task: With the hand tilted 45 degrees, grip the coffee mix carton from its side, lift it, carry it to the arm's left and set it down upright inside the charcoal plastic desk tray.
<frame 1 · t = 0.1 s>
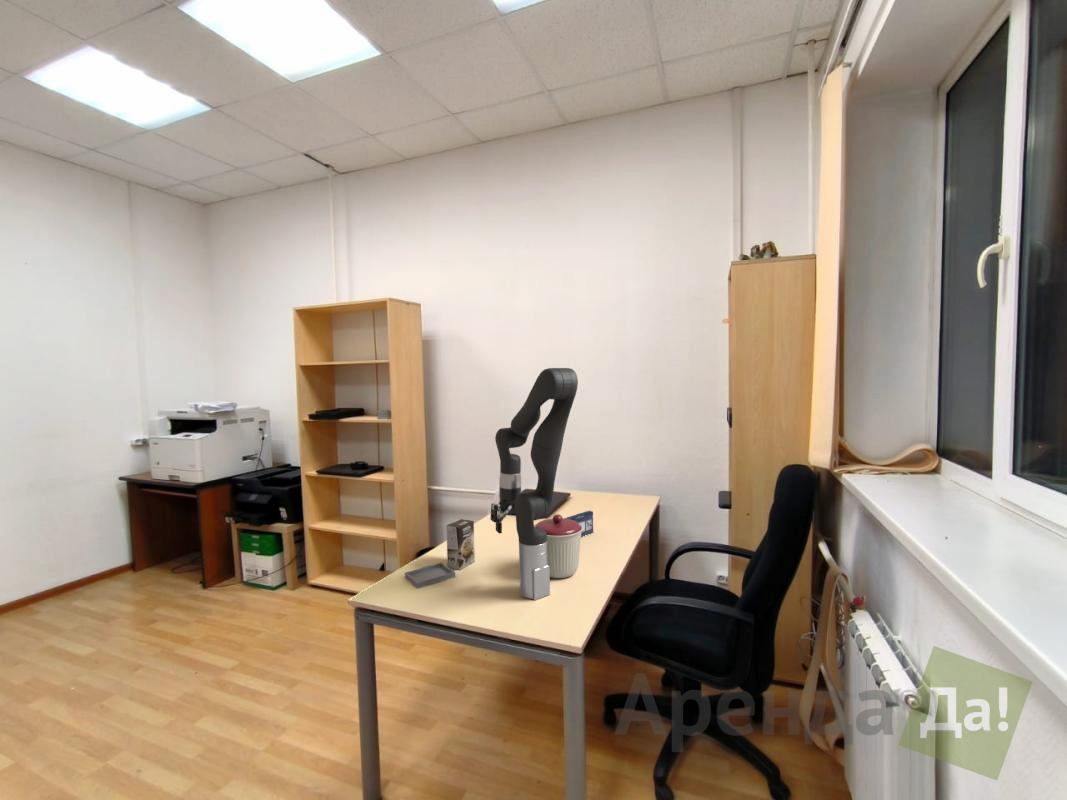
hand: (509, 530, 162), 17 cm above the table, tool pointing down, fingers open, 8 cm apart
canister: (558, 573, 167), on the table
vhs cassette tape: (577, 538, 203), on the table
tray: (430, 577, 166), on the table
coffee box: (461, 565, 177), on the table
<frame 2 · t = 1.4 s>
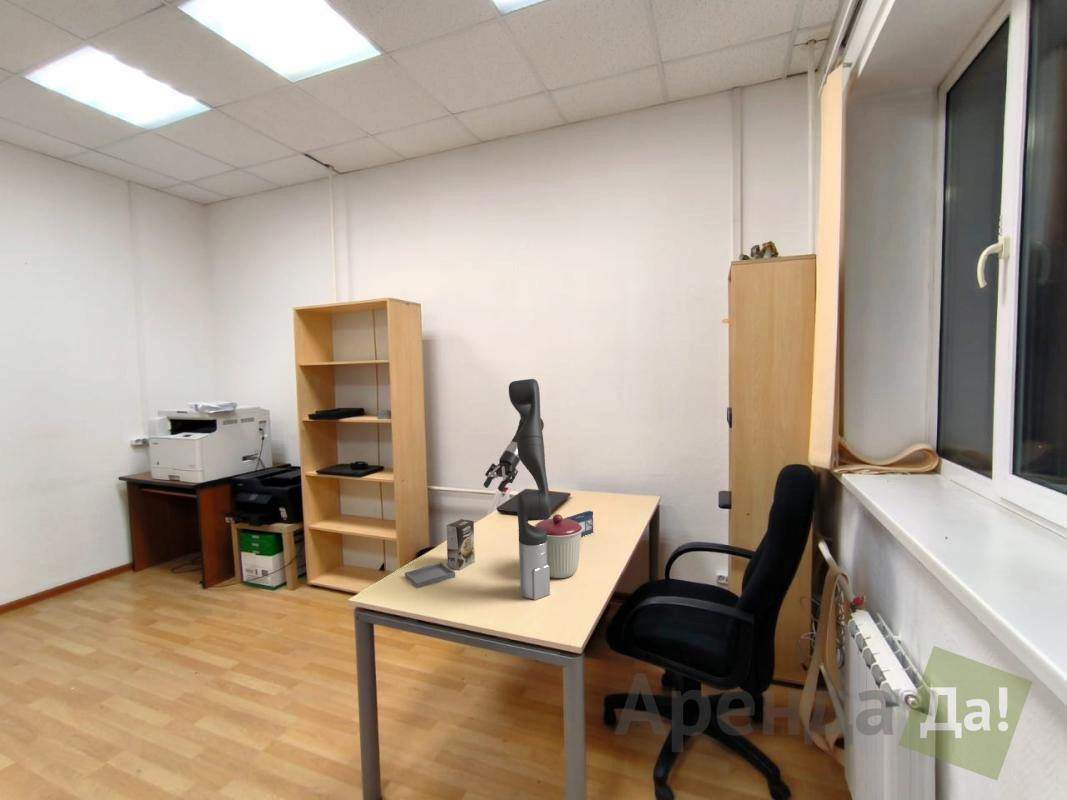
hand: (492, 488, 184), 27 cm above the table, tool tilted 45°, fingers open, 8 cm apart
nothing on the table moved.
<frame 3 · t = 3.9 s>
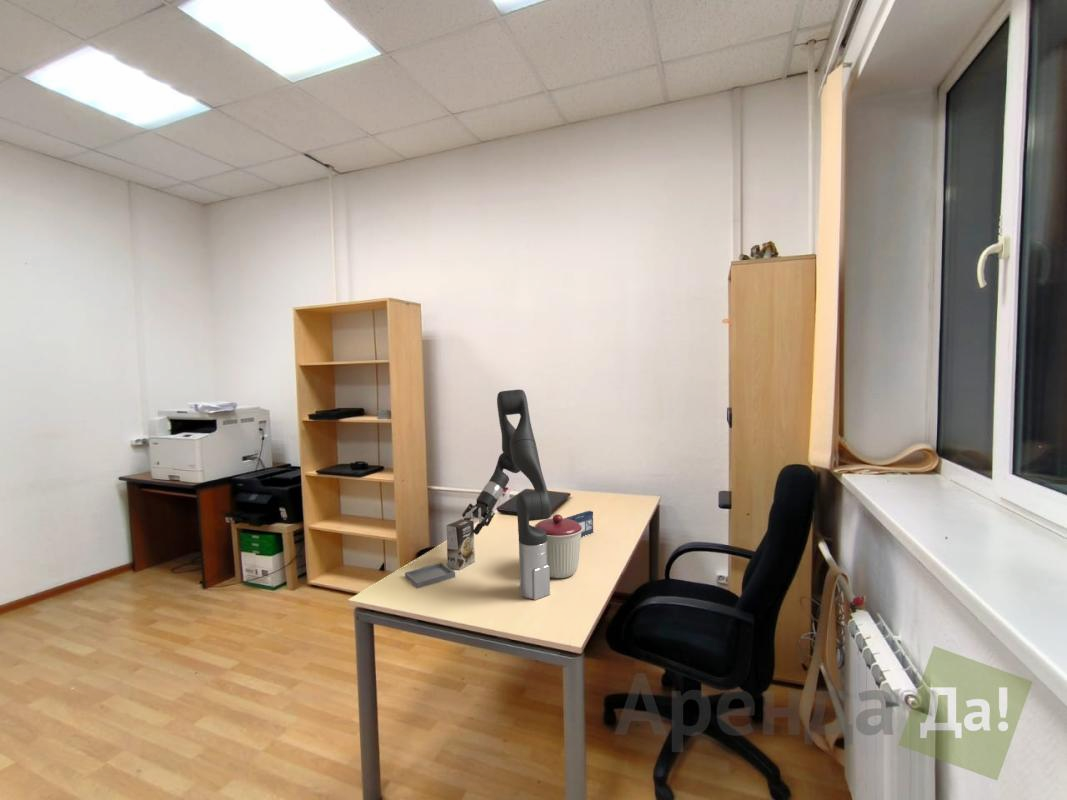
hand: (468, 531, 179), 12 cm above the table, tool tilted 45°, fingers open, 8 cm apart
coffee box: (461, 565, 177), on the table, touching gripper
everything else where it was.
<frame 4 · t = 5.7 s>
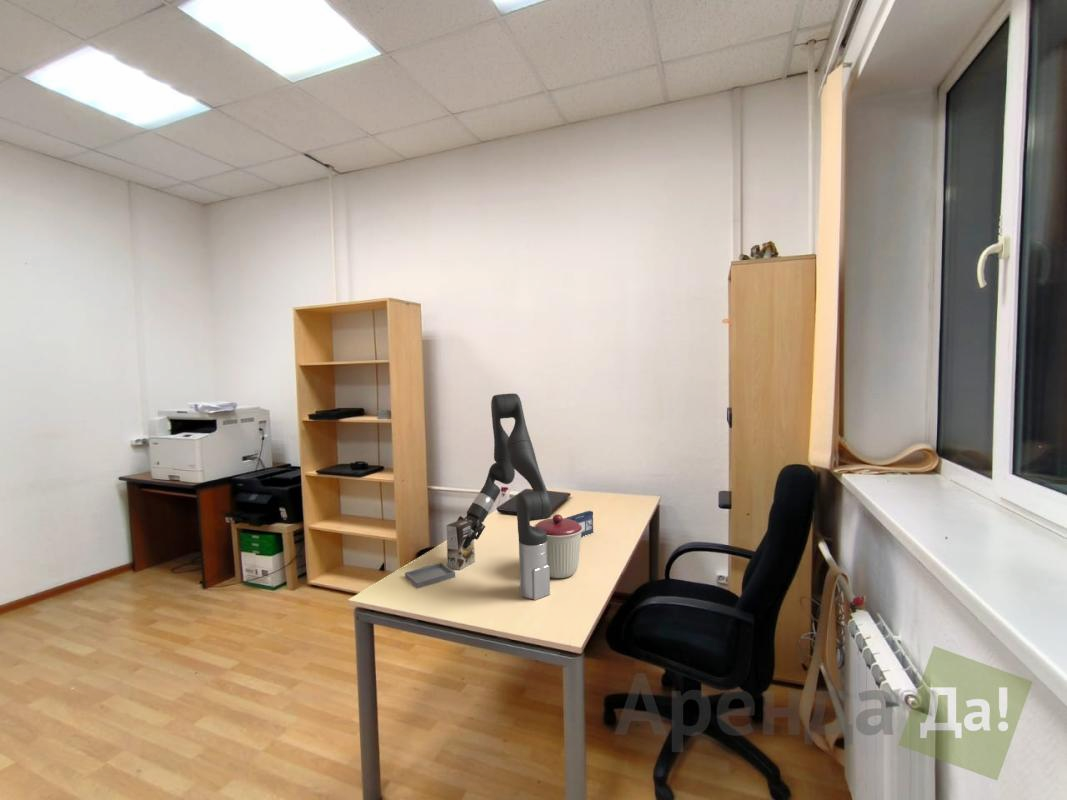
hand: (457, 544, 175), 8 cm above the table, tool tilted 45°, fingers closed on coffee box, 7 cm apart
coffee box: (461, 565, 177), on the table, touching gripper
everything else where it was.
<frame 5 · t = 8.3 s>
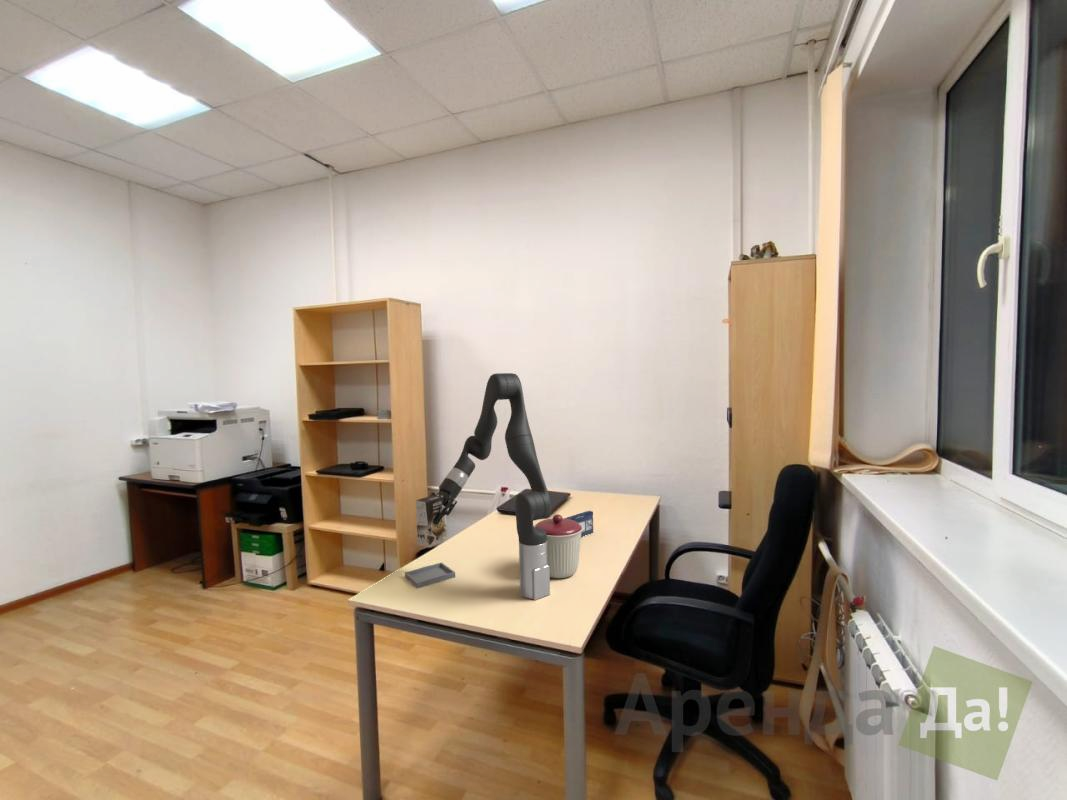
hand: (428, 521, 165), 20 cm above the table, tool tilted 45°, fingers closed on coffee box, 7 cm apart
coffee box: (432, 542, 167), point 12 cm above the table, touching gripper
everything else where it was.
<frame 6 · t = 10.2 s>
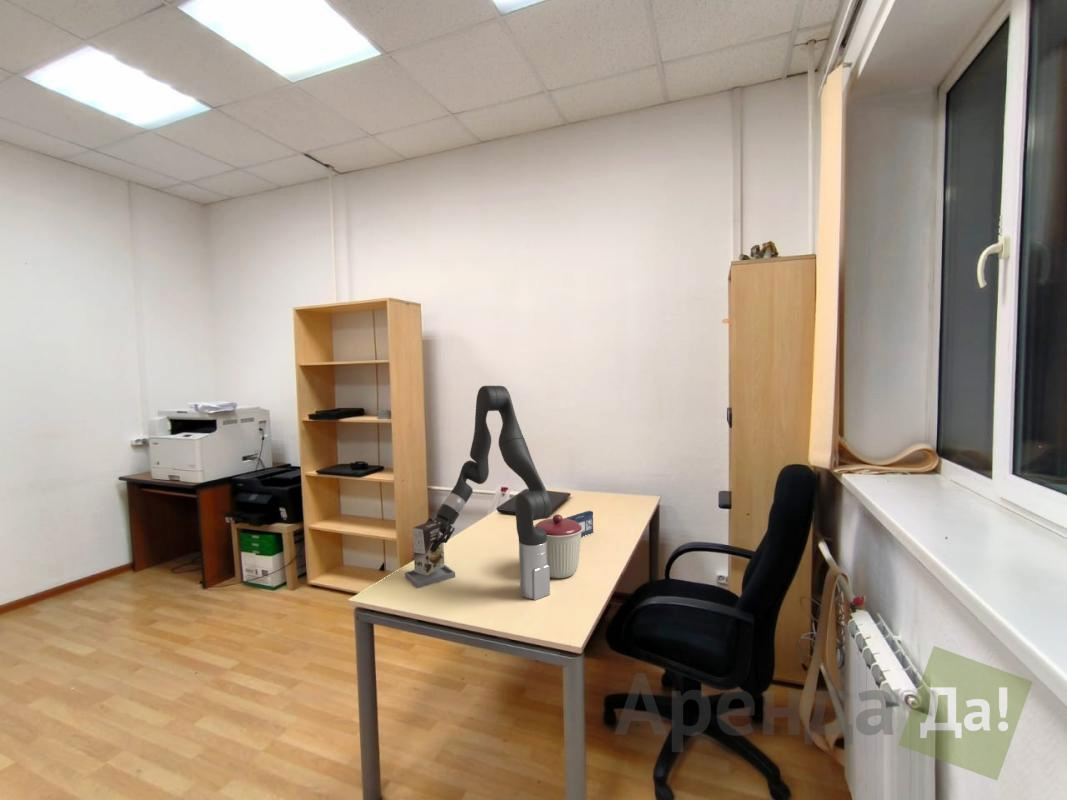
hand: (425, 548, 165), 11 cm above the table, tool tilted 45°, fingers closed on coffee box, 7 cm apart
coffee box: (429, 569, 166), point 3 cm above the table, touching gripper
everything else where it was.
when the fingers open (10 cm above the table, at t = 11.1 s): coffee box drops 1 cm, resting on tray.
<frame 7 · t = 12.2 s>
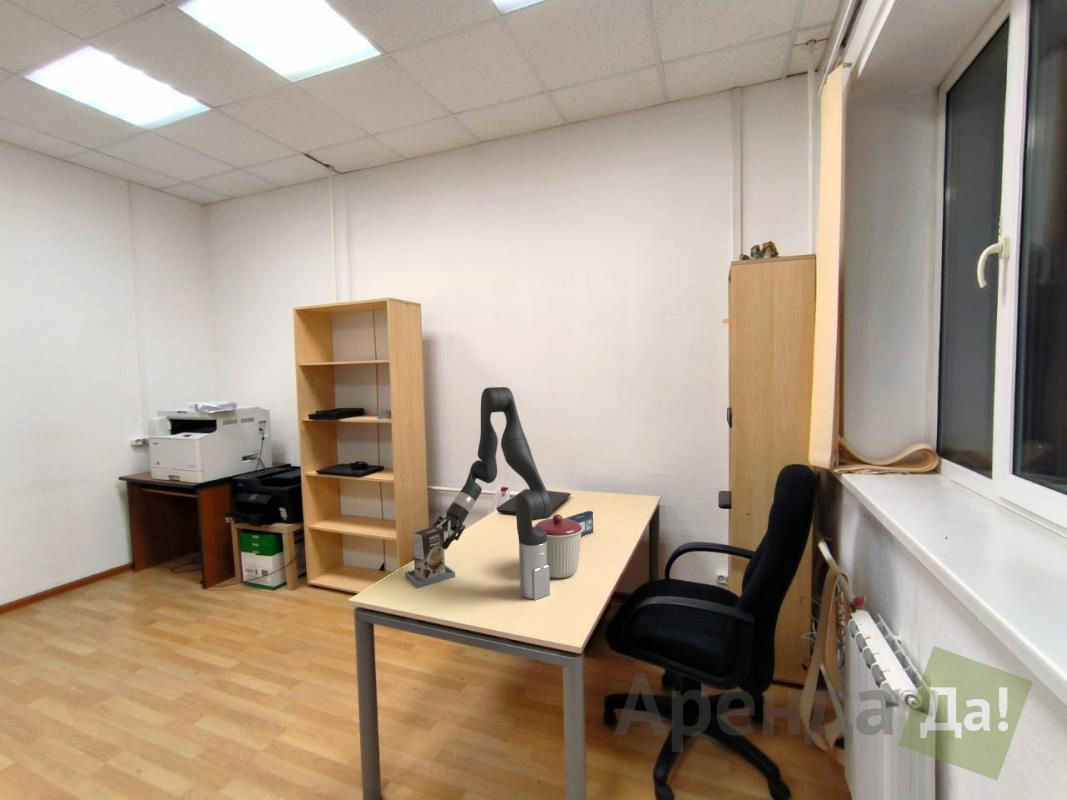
hand: (436, 545, 168), 11 cm above the table, tool tilted 45°, fingers open, 8 cm apart
coffee box: (430, 575, 167), resting on tray
everything else where it was.
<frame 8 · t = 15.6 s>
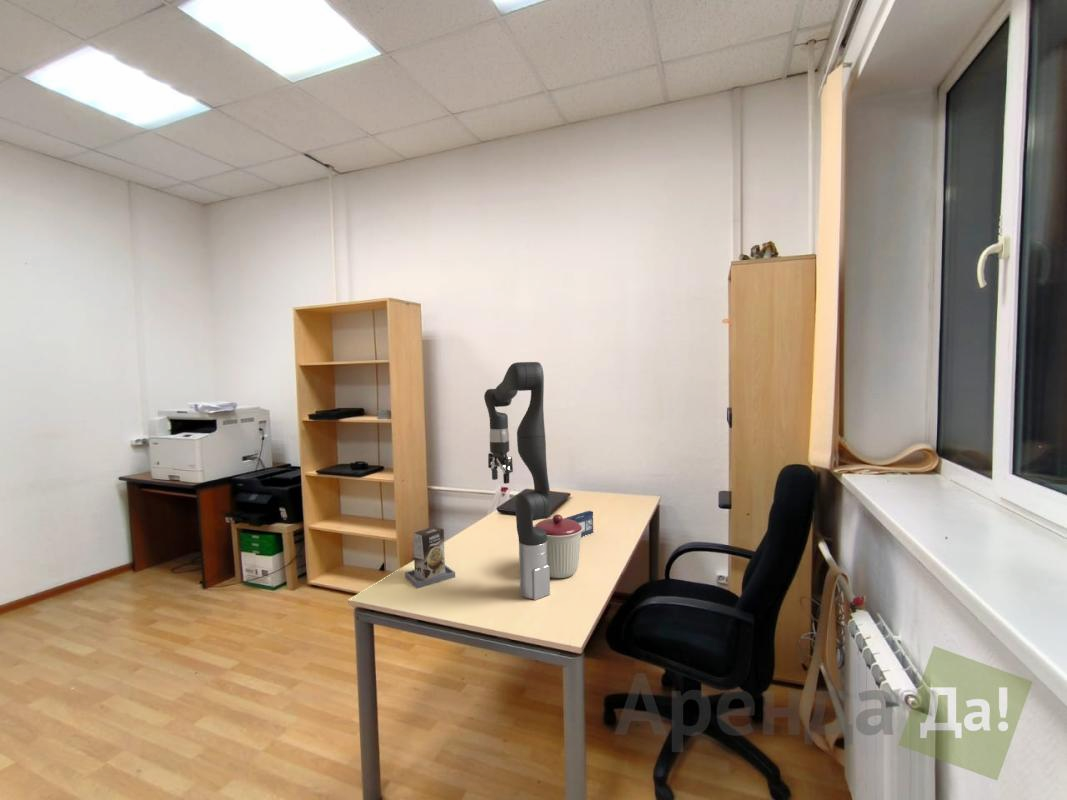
hand: (500, 481, 181), 30 cm above the table, tool pointing down, fingers open, 8 cm apart
nothing on the table moved.
at the end: coffee box inside the target area on the tray (0.6 cm from its centre), point 0.4 cm above the tray's base; coffee box tilted 0°; the gripper is holding nothing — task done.
